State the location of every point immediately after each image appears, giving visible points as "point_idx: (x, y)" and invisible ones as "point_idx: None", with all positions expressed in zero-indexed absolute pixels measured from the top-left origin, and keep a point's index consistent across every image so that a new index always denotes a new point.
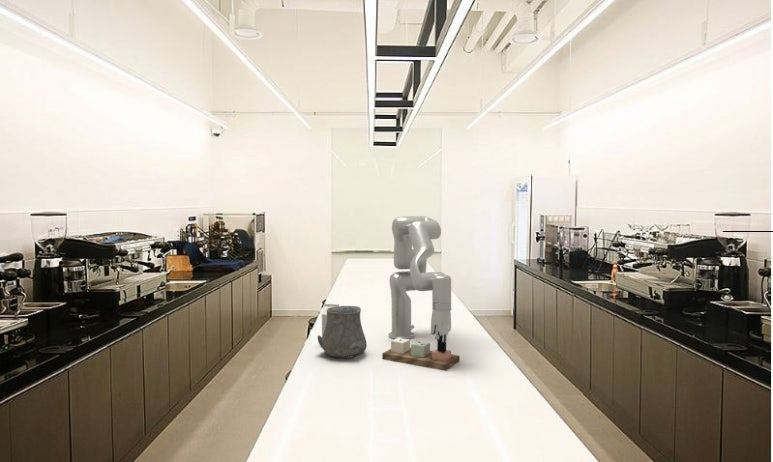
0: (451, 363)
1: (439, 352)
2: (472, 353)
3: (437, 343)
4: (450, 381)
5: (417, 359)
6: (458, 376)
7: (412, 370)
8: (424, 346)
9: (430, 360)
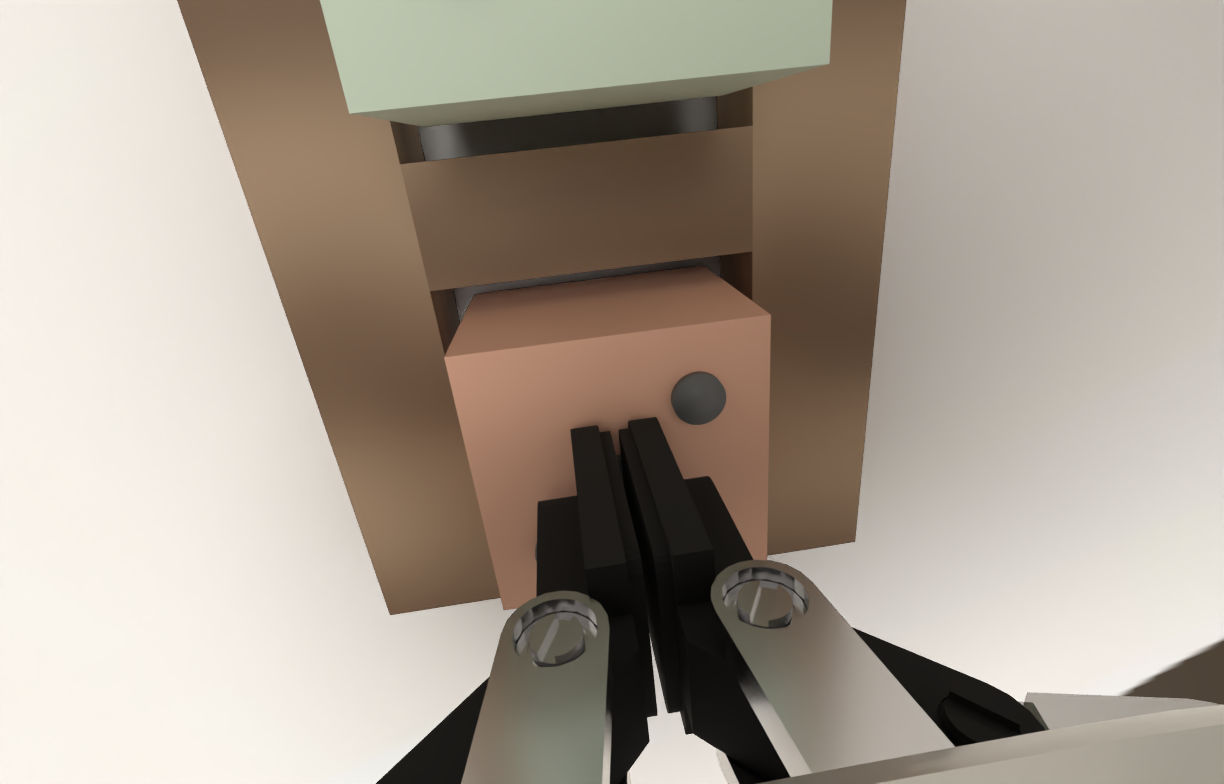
0: None
1: (533, 486)
2: (1189, 443)
3: (583, 524)
4: (171, 736)
5: (209, 93)
6: (362, 713)
7: (5, 183)
8: (418, 108)
9: (363, 350)
